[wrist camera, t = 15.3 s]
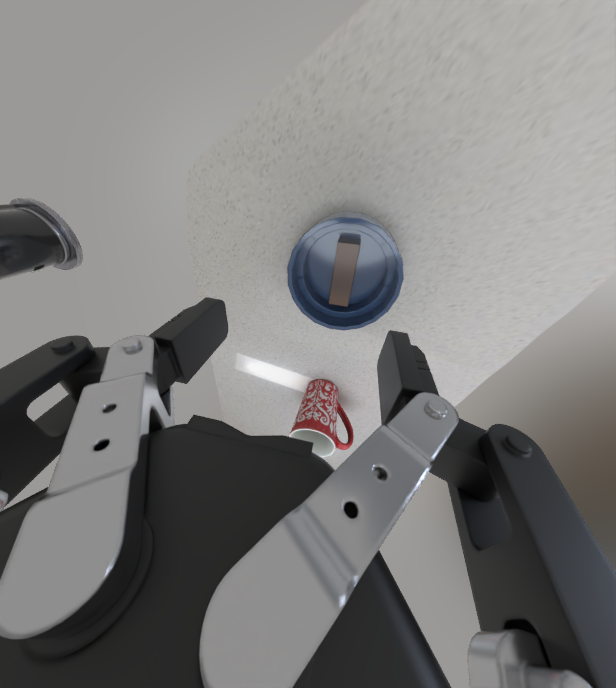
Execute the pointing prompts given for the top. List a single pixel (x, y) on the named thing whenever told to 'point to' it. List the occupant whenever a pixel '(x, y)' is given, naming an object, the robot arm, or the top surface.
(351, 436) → the mug
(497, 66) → the top surface
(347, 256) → the bar
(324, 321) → the bowl
